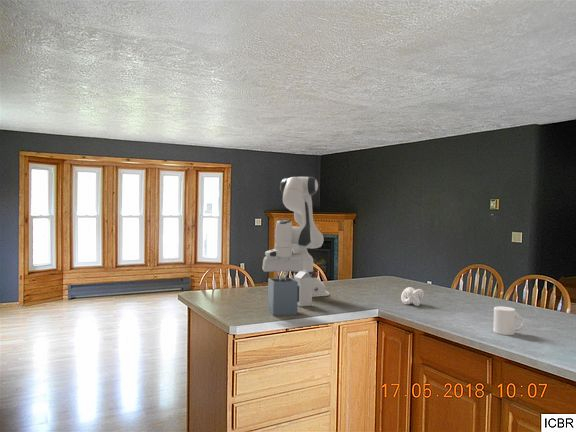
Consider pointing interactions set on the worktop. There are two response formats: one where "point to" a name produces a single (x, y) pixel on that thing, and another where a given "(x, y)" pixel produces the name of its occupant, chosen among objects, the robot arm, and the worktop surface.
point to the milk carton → (304, 288)
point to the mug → (506, 320)
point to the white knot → (412, 296)
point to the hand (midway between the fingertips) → (282, 280)
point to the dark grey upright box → (283, 296)
